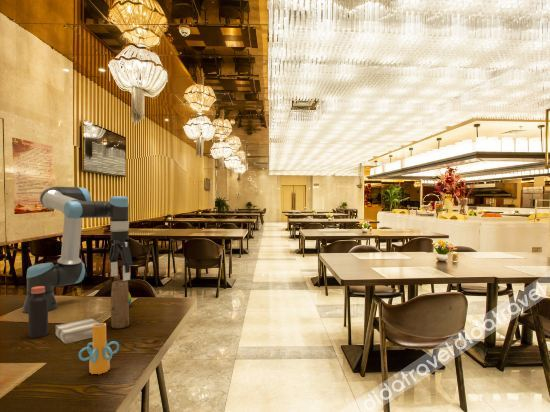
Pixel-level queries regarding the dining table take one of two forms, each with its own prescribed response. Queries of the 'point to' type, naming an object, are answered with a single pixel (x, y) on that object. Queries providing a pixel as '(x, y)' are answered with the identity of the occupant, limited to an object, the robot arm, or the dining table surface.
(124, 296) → the brown river rock
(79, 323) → the platform
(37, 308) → the bottle
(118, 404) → the dining table surface
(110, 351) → the orange vase with handles
